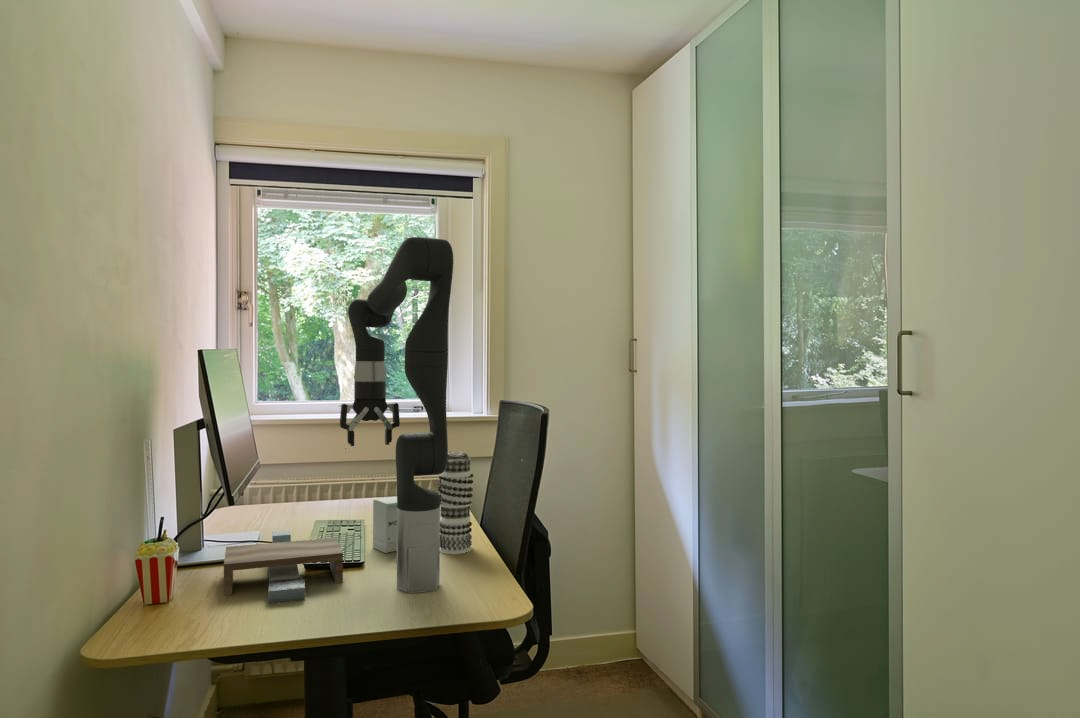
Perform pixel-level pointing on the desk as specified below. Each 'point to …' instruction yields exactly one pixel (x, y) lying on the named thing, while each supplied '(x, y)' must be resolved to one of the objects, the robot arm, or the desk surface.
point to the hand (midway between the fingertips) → (369, 445)
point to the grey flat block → (286, 590)
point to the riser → (282, 557)
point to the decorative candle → (455, 504)
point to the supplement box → (385, 524)
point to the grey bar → (286, 570)
